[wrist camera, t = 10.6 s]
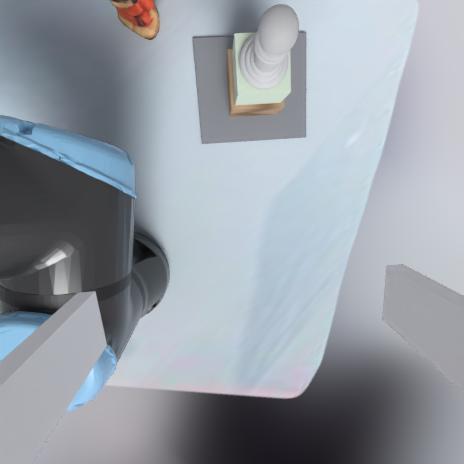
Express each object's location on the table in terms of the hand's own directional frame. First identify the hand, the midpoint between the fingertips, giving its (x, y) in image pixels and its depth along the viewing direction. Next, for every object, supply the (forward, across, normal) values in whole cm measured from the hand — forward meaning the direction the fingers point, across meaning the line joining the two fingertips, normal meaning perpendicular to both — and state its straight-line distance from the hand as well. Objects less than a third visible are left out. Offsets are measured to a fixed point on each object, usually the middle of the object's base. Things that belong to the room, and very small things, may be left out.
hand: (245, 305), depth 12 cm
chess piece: (+22, +5, +17) cm, 28 cm away
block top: (+26, +5, +17) cm, 32 cm away
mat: (+32, +5, +17) cm, 36 cm away
